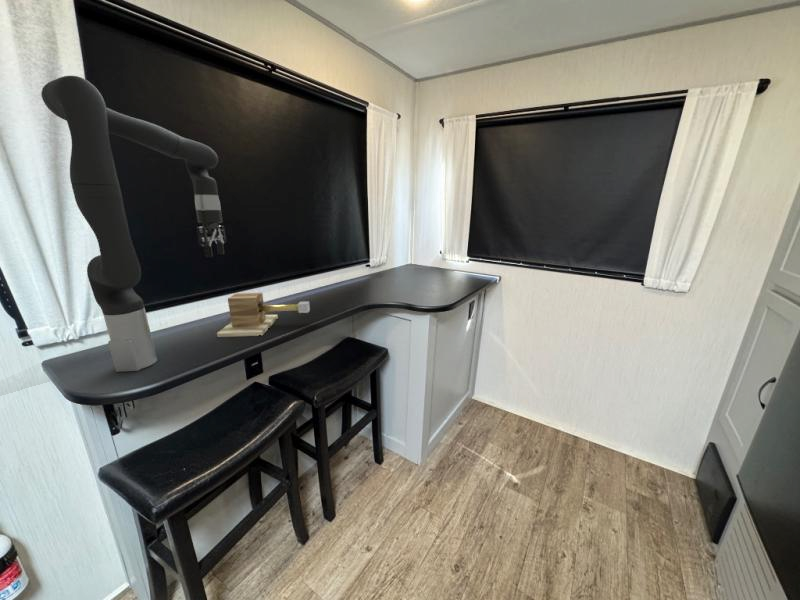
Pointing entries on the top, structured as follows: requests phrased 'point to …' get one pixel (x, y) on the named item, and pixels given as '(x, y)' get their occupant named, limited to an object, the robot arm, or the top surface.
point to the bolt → (287, 307)
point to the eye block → (247, 316)
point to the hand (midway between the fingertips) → (215, 255)
